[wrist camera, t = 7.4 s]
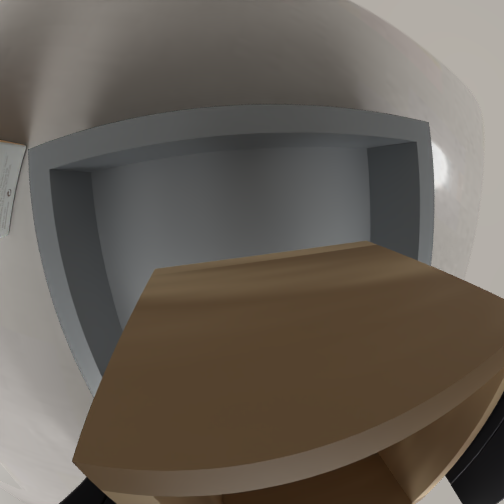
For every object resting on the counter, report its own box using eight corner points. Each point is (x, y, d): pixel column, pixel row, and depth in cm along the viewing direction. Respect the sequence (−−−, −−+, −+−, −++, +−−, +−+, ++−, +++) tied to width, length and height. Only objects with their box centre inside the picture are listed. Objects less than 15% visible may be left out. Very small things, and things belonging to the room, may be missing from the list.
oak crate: (350, 400, 10) (420, 500, 4) (200, 432, 9) (216, 564, 3) (366, 240, 8) (535, 314, 2) (155, 268, 7) (71, 461, 1)
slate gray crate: (362, 366, 18) (397, 407, 13) (143, 405, 15) (134, 461, 11) (369, 134, 14) (428, 122, 9) (80, 158, 11) (28, 149, 6)
